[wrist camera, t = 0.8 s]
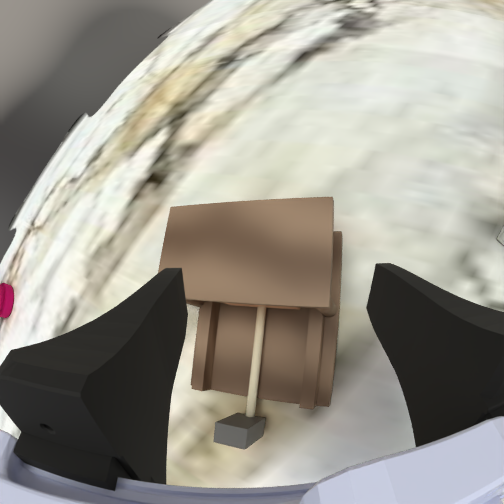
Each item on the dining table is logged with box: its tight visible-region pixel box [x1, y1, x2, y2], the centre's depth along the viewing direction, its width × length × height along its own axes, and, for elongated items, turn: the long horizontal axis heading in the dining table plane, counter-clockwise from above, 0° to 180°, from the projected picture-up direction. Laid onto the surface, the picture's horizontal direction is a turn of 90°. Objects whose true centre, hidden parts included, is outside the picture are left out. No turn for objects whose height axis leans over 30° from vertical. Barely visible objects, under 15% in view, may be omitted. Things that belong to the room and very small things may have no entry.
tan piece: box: [214, 303, 300, 449], centre depth 22 cm, size 16×6×5 cm, turn 174°
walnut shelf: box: [158, 197, 342, 409], centre depth 22 cm, size 14×12×8 cm
